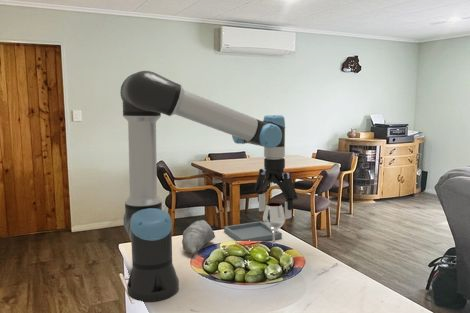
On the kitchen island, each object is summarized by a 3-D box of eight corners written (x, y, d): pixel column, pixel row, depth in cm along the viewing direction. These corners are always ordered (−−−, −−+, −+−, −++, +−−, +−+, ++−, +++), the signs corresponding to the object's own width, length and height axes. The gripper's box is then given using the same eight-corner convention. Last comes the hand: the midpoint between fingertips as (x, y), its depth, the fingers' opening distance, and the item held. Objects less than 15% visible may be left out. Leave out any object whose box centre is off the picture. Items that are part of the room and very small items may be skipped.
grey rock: (192, 259, 140) (191, 232, 139) (170, 248, 151) (169, 223, 150) (226, 248, 151) (226, 223, 150) (203, 238, 162) (203, 215, 161)
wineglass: (267, 245, 153) (267, 200, 151) (287, 249, 150) (288, 203, 147) (259, 253, 146) (259, 205, 144) (280, 256, 143) (280, 208, 140)
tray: (242, 245, 154) (242, 239, 153) (224, 232, 170) (224, 226, 170) (281, 239, 161) (281, 233, 161) (260, 226, 177) (260, 221, 177)
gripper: (307, 160, 136) (307, 219, 139) (258, 153, 155) (259, 205, 158) (293, 162, 131) (293, 224, 134) (244, 155, 150) (245, 209, 153)
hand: (274, 214), depth 146 cm, fingers open, 13 cm apart
